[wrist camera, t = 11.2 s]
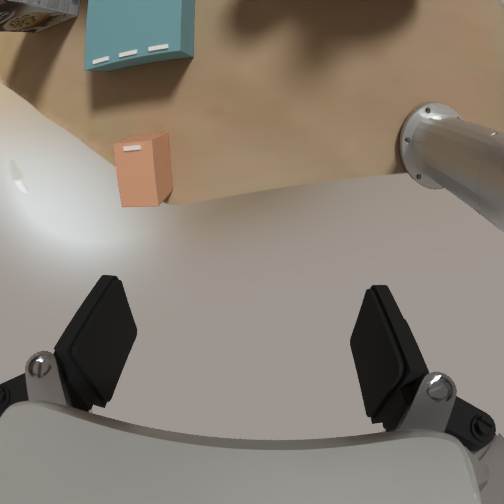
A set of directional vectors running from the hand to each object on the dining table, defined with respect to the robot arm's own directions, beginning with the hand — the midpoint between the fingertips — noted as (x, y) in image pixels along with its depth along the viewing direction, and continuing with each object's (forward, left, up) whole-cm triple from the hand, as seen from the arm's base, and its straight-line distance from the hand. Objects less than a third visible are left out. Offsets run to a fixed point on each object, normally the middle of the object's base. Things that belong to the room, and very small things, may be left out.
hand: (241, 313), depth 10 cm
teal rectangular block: (+14, -21, -28) cm, 38 cm away
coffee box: (+30, -27, -28) cm, 49 cm away
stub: (+14, +1, -28) cm, 32 cm away
